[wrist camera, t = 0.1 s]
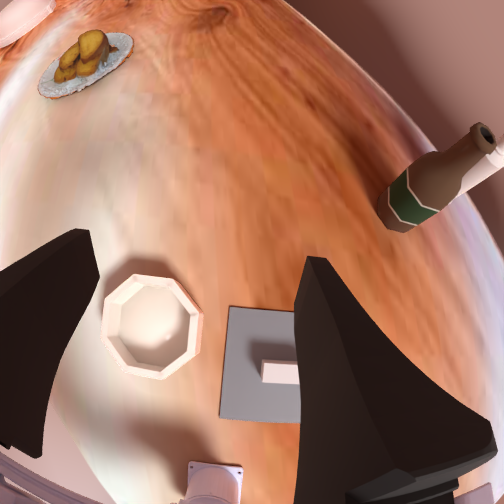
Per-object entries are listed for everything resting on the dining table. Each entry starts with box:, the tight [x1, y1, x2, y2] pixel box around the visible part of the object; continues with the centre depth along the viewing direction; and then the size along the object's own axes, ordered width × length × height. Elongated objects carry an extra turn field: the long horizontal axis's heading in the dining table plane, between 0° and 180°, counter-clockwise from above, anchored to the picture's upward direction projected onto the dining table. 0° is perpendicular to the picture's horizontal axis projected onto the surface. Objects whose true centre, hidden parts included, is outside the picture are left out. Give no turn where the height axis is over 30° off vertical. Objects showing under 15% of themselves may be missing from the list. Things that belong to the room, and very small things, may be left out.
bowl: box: [100, 274, 204, 380], centre depth 37 cm, size 13×13×4 cm
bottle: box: [449, 134, 504, 204], centre depth 34 cm, size 5×5×25 cm
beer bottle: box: [378, 122, 497, 233], centre depth 33 cm, size 8×8×24 cm
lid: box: [220, 307, 301, 423], centre depth 37 cm, size 16×16×5 cm
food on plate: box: [38, 30, 134, 99], centre depth 49 cm, size 25×25×7 cm
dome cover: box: [0, 0, 56, 48], centre depth 55 cm, size 32×30×14 cm
